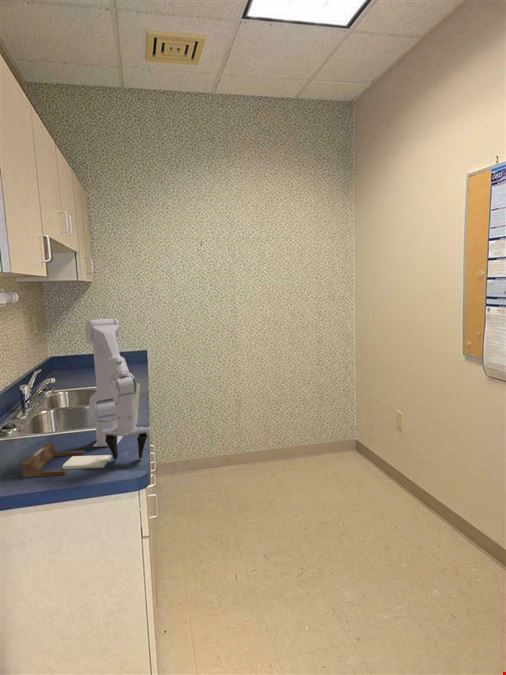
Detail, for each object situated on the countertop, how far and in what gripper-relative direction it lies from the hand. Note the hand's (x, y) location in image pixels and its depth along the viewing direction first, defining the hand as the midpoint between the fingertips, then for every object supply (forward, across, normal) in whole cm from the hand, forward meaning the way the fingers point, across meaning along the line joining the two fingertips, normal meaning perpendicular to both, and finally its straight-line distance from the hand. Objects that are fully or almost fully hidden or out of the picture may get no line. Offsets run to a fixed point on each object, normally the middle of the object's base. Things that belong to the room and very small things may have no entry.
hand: (128, 457), depth 135 cm
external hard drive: (+2, -12, 0) cm, 13 cm away
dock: (+1, -22, 0) cm, 22 cm away
